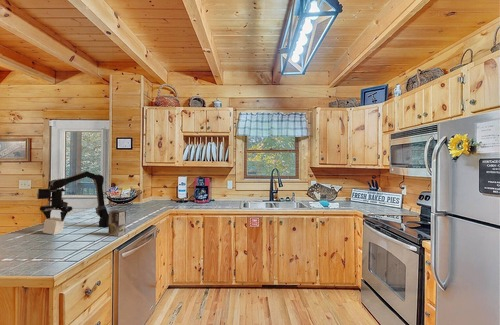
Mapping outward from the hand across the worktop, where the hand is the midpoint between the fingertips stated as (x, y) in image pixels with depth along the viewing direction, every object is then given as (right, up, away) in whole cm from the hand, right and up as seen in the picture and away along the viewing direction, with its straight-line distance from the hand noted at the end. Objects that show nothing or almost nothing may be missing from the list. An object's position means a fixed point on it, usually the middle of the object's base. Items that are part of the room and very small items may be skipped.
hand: (55, 221), depth 179 cm
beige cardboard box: (-2, -7, 0) cm, 8 cm away
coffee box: (+41, -10, +2) cm, 42 cm away
